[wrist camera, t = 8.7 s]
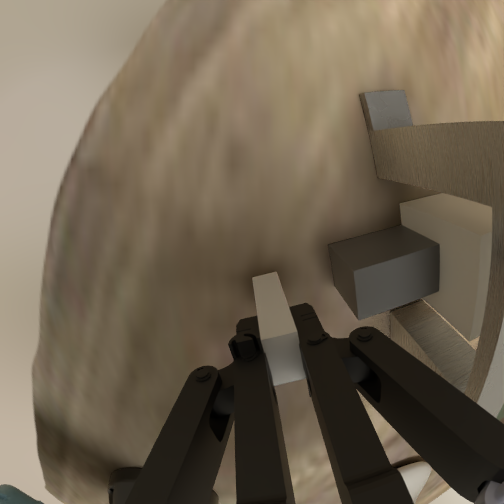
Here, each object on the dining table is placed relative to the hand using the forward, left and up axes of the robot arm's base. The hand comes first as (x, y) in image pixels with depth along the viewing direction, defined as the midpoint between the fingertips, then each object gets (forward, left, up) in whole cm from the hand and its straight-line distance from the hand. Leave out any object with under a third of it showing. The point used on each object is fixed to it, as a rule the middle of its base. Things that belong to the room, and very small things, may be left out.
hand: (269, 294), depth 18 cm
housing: (+10, 0, -1) cm, 10 cm away
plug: (+12, 0, -1) cm, 12 cm away
